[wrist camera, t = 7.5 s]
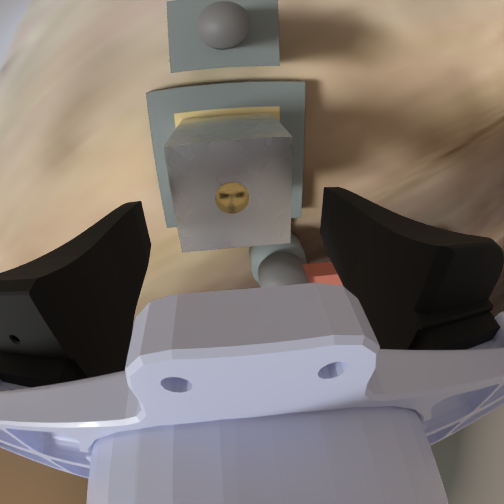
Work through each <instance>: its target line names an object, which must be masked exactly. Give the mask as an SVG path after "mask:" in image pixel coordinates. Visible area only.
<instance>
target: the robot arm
mask: <svg viewBox="0 0 504 504" xmlns="http://www.w3.org/2000/svg"><path fill="white" fill-rule="evenodd" d="M320 233H321V236H322V240H323V243H324V246H325V249H326V251H327V254H328V256H329V258H330V260H331V262H332V264H333V266H334V268H335V270H336V272H337V274H338V276H339V278H340V280H341V282H342V284H343V286H344V287H343V286H342V285H332V284H323V283H305V284H295V285H285V286H274V287H263V288H251V289H239V290H226V291H212V292H198V293H183V294H175V295H172V296H168V297H165V298H161V299H157V300H154V301H150V302H149V303H148V304H147V306H146V307H145V308H144V309H143V310H142V311H141V312H140V313H139V314H138V316H137V317H136V319H135V324H134V328H133V320H134V314H135V310H136V306H137V302H138V298H139V295H140V291H141V288H142V284H143V281H144V278H145V274H146V271H147V267H148V263H149V257H150V249H151V242H150V238H149V234H148V230H147V225H146V221H145V217H144V212H143V208H142V203H141V201H137V202H129V203H125V204H123V205H121V206H120V207H118V208H117V209H115V210H114V211H112V212H111V213H109V214H108V215H107V216H105V217H104V218H102V219H101V220H100V221H98V222H97V223H96V224H94V225H93V226H91V227H90V228H88V229H87V230H85V231H84V232H83V233H81V234H80V235H78V236H77V237H75V238H74V239H72V240H70V241H69V242H67V243H65V244H64V245H62V246H60V247H59V248H57V249H55V250H53V251H51V252H49V253H47V254H45V255H43V256H41V257H39V258H37V259H35V260H33V261H31V262H28V263H26V264H24V265H21V266H19V267H16V268H14V269H11V270H8V271H5V272H2V273H0V447H1V448H3V449H6V450H8V451H11V452H13V453H15V454H18V455H20V456H23V457H26V458H28V459H31V460H33V461H36V462H39V463H41V464H44V465H47V466H50V467H53V468H56V469H59V470H62V471H65V472H68V473H71V474H75V475H78V476H81V477H85V478H89V481H88V492H87V504H449V503H448V500H447V496H446V493H445V490H444V486H443V483H442V480H441V477H440V474H439V471H438V468H437V465H436V462H435V459H434V456H433V453H432V450H431V447H430V445H432V444H434V443H436V442H438V441H440V440H442V439H444V438H446V437H448V436H450V435H452V434H453V433H455V432H457V431H459V430H461V429H462V428H464V427H466V426H468V425H469V424H471V423H473V422H475V421H476V420H478V419H480V418H481V417H483V416H484V415H486V414H488V413H490V412H491V411H493V410H494V409H496V408H497V407H499V406H501V405H502V404H504V311H503V312H501V313H499V314H498V315H497V316H495V318H494V317H493V315H492V314H491V313H490V310H492V308H493V304H492V303H491V302H490V300H489V299H488V298H489V296H490V294H491V292H492V291H493V289H494V287H495V285H496V283H497V281H498V279H499V276H500V274H501V271H502V268H503V263H504V253H503V251H502V249H501V247H500V246H499V245H498V244H497V243H496V242H495V241H494V240H493V239H491V238H487V237H481V236H474V235H467V234H461V233H457V232H452V231H448V230H444V229H440V228H436V227H433V226H430V225H426V224H423V223H420V222H417V221H414V220H412V219H409V218H407V217H404V216H401V215H399V214H397V213H394V212H392V211H390V210H388V209H386V208H383V207H381V206H379V205H377V204H375V203H373V202H371V201H369V200H367V199H365V198H363V197H361V196H359V195H357V194H355V193H353V192H351V191H348V190H346V189H343V188H340V187H324V194H323V205H322V216H321V227H320ZM132 328H133V332H132ZM131 336H132V337H131Z"/></svg>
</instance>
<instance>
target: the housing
mask: <svg viewBox="0 0 504 504" xmlns="http://www.w3.org/2000/svg"><path fill="white" fill-rule="evenodd" d="M292 138H293V137H292V136H291V134H290V133H289V132H288V131H287V130H286V129H285V128H284V127H283V126H282V124H281V123H280V122H279V121H278V120H277V119H276V118H275V117H274V116H273V115H272V114H271V113H270V112H262V113H243V114H228V115H216V116H206V117H197V118H188V119H182V120H181V122H180V123H179V125H178V126H177V128H176V129H175V131H174V132H173V134H172V135H171V137H170V138H169V140H168V141H167V143H166V144H165V146H164V154H165V160H166V166H167V173H168V179H169V185H170V190H171V196H172V202H173V207H174V213H175V218H176V223H177V228H178V234H179V239H180V243H181V248H182V252H190V251H202V250H213V249H225V248H237V247H248V246H260V245H272V244H284V243H290V236H291V204H292Z"/></svg>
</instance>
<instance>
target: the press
mask: <svg viewBox="0 0 504 504" xmlns="http://www.w3.org/2000/svg"><path fill="white" fill-rule="evenodd" d="M167 18H168V38H169V53H170V67H171V73H175V72H182V71H191V70H200V69H210V68H223V67H241V66H280V61H279V20H278V0H175V1H168V2H167ZM146 98H147V107H148V115H149V123H150V130H151V137H152V144H153V151H154V158H155V164H156V170H157V176H158V182H159V188H160V193H161V199H162V204H163V210H164V215H165V220H166V225H167V228H170V227H177V223H176V218H175V213H174V207H173V202H172V196H171V190H170V185H169V179H168V173H167V166H166V160H165V154H164V146H165V144H166V143H167V141H168V140H169V138H170V137H171V135H172V134H173V132H174V131H175V129H176V128H177V126H178V125H179V123H180V122H181V120H182V119H188V118H197V117H206V116H216V115H228V114H243V113H262V112H270V113H271V114H272V115H273V116H274V117H275V118H276V119H277V120H278V121H279V122H280V123H281V124H282V126H283V127H284V128H285V129H286V130H287V131H288V132H289V133H290V134H291V136H292V137H293V138H292V204H291V218H301V207H302V187H303V164H304V133H305V82H303V81H287V80H267V81H237V82H221V83H209V84H198V85H189V86H181V87H173V88H166V89H160V90H153V91H149V92H147V93H146ZM276 252H290V253H293V254H295V255H296V256H298V257H299V258H300V260H301V261H302V264H307V259H306V256H305V253H304V251H303V248H302V245H301V243H300V241H299V239H298V237H297V236H296V235H295V234H294V233H292V232H291V236H290V243H284V244H272V245H260V246H250V250H249V254H250V261H251V268H252V274H253V277H254V278H255V280H256V281H257V282H258V283H259V277H258V268H259V265H260V263H261V262H262V261H263V260H264V259H265V258H266V257H267V256H269V255H271V254H273V253H276ZM259 284H260V283H259Z"/></svg>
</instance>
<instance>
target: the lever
mask: <svg viewBox="0 0 504 504" xmlns="http://www.w3.org/2000/svg"><path fill="white" fill-rule="evenodd" d="M258 277H259V283H260V288H263V287H274V286H285V285H295V284H305V283H323V284H332V285H342V286H343V284H342V282H341V280H340V278H339V276H338V274H337V272H336V270H335V268H334V266H333V264H332V262H321V263H310V264H302V261H301V260H300V258H299V257H298V256H296V255H295V254H293V253H290V252H276V253H273V254H271V255H269V256H267V257H266V258H265V259H264V260H263V261H262V262H261V263H260V265H259V268H258ZM343 287H344V286H343Z"/></svg>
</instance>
